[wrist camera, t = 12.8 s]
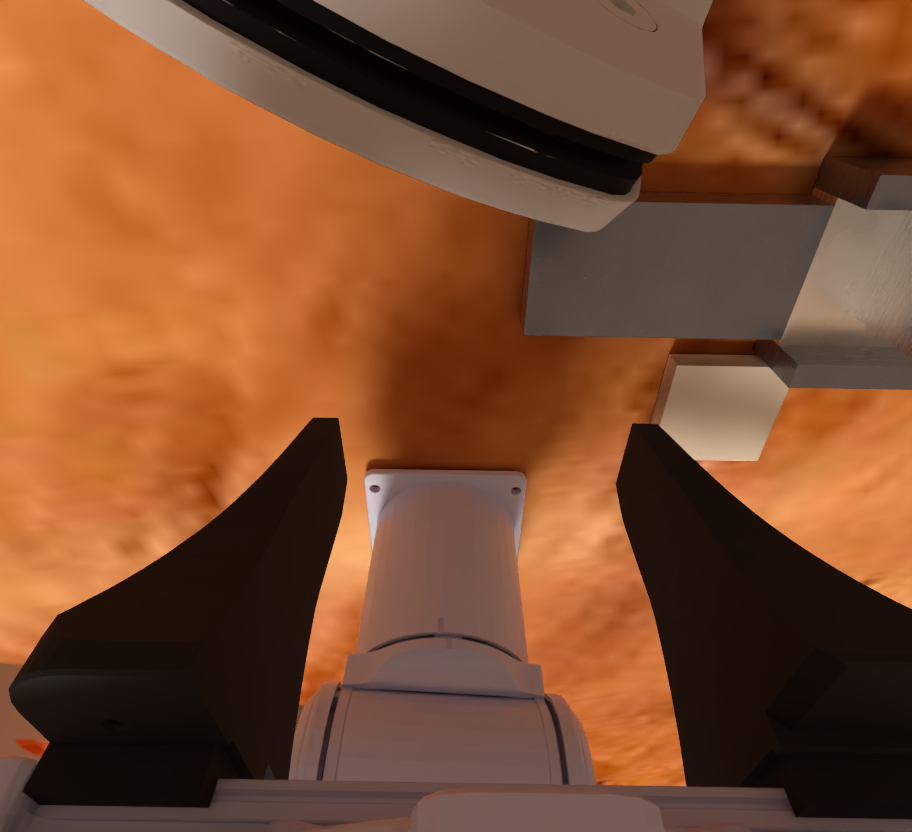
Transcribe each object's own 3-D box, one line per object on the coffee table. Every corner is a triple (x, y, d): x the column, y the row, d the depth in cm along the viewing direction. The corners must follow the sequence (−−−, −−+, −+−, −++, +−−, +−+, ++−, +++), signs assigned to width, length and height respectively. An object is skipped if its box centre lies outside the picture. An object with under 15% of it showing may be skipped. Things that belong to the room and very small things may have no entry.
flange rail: (963, 353, 23) (1024, 391, 21) (517, 346, 23) (524, 383, 20) (1084, 161, 19) (1179, 180, 16) (535, 151, 19) (547, 168, 16)
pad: (747, 447, 26) (757, 461, 25) (644, 445, 26) (650, 459, 25) (786, 355, 23) (798, 367, 22) (669, 353, 23) (677, 365, 22)
